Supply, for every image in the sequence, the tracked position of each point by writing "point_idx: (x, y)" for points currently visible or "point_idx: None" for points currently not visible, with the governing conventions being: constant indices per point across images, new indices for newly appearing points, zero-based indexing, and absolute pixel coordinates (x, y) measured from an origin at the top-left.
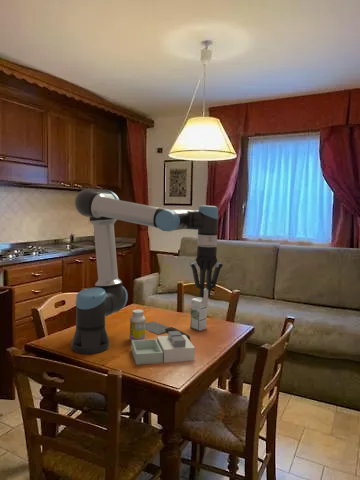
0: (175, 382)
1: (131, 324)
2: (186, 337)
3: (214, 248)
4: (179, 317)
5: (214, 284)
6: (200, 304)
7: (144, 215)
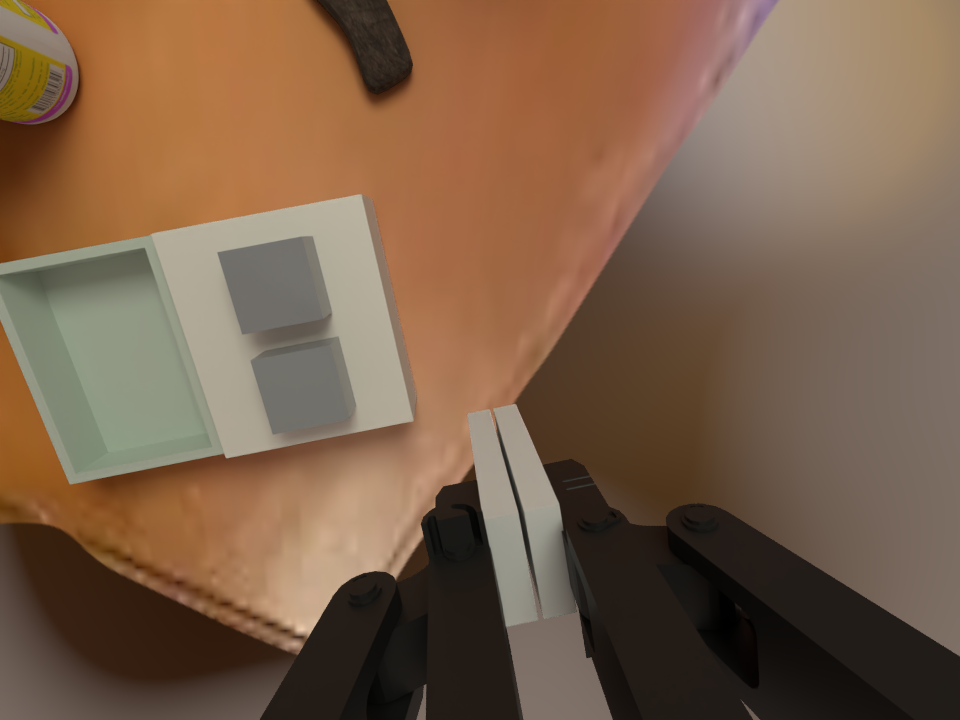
0: (318, 609)
1: None
2: (368, 248)
3: None
4: None
5: (737, 652)
6: None
7: None
